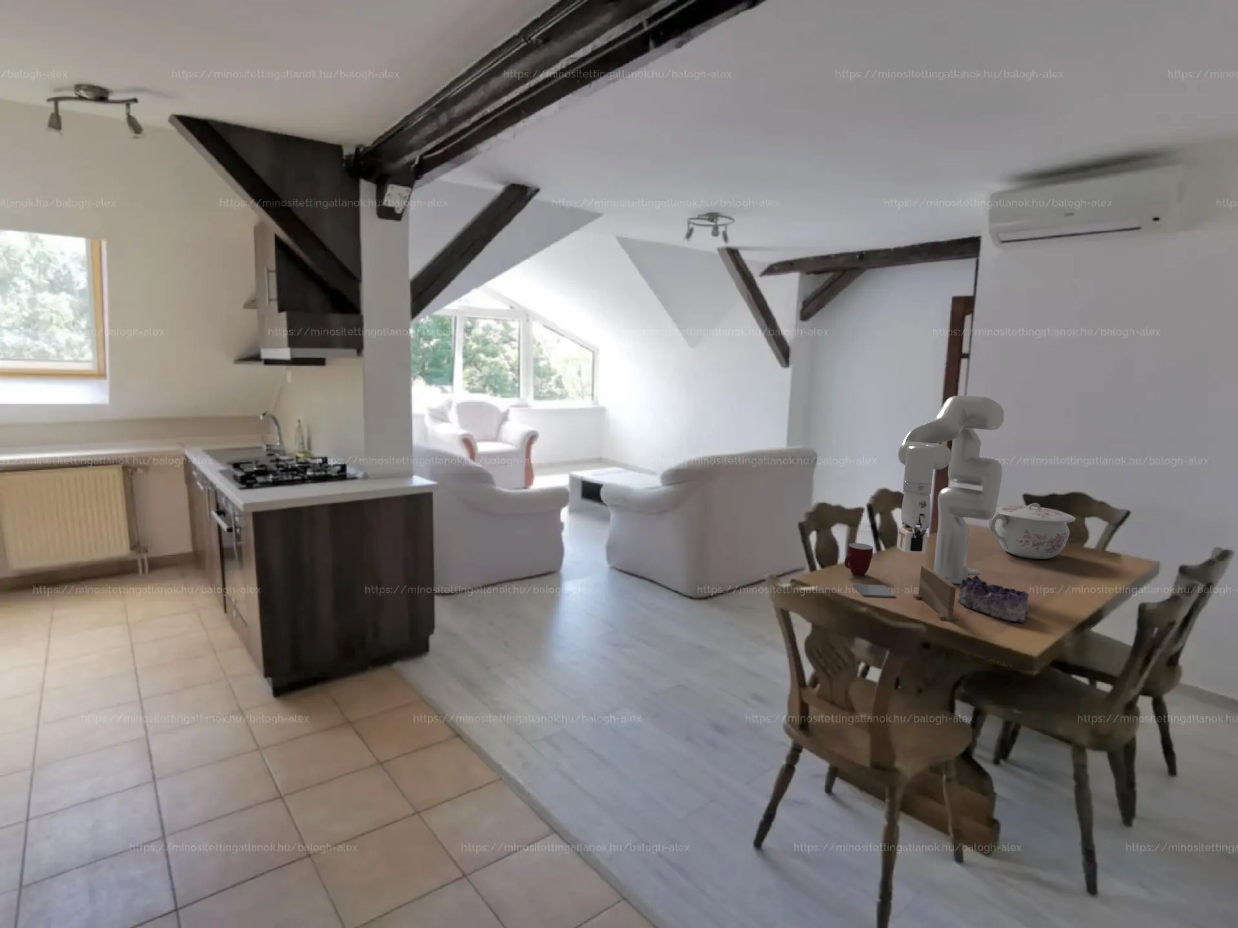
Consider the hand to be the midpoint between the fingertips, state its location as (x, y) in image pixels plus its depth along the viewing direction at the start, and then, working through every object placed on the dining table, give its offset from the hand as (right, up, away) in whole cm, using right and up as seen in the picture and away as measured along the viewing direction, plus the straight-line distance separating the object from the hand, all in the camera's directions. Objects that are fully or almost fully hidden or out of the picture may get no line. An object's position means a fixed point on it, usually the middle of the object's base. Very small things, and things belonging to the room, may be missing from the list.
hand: (911, 547), depth 198 cm
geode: (+24, -19, +1) cm, 31 cm away
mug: (-5, -14, +32) cm, 35 cm away
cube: (0, -1, 0) cm, 1 cm away
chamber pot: (+74, -11, +66) cm, 100 cm away
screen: (+8, -18, +2) cm, 20 cm away
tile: (-5, -16, +16) cm, 23 cm away
